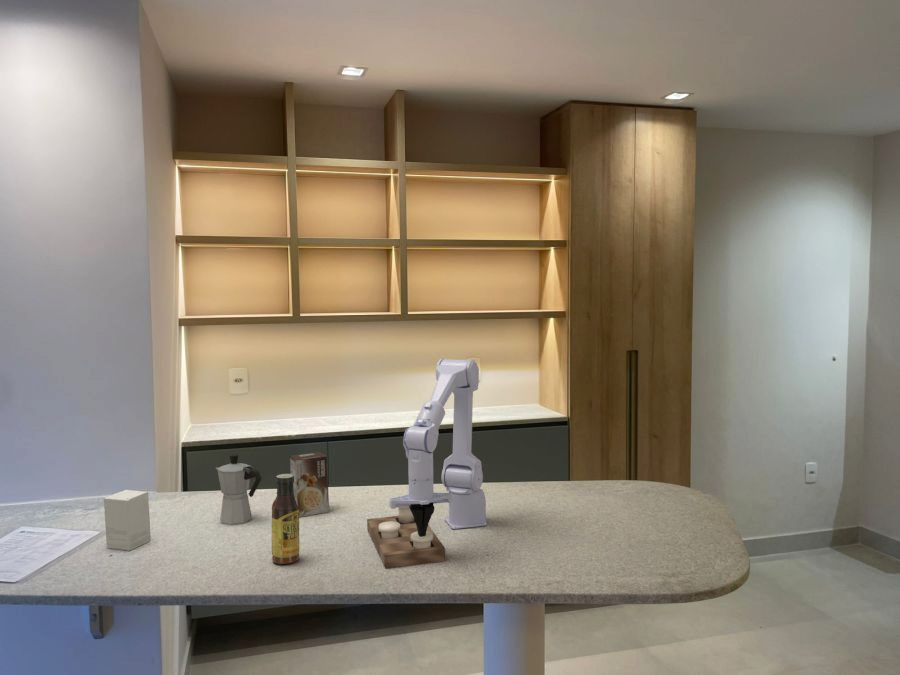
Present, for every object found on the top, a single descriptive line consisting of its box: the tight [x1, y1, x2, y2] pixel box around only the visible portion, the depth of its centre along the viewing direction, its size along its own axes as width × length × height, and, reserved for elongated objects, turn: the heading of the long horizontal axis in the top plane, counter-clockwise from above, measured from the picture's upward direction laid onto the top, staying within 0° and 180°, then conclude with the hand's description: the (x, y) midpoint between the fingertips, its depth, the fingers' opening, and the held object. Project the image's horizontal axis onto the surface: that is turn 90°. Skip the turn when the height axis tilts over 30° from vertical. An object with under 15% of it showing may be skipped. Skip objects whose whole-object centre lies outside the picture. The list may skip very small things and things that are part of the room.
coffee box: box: [289, 451, 330, 518], centre depth 192 cm, size 9×6×16 cm
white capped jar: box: [397, 506, 414, 523], centre depth 176 cm, size 5×5×5 cm
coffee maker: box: [215, 453, 263, 526], centre depth 186 cm, size 15×9×18 cm, turn 68°
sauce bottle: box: [271, 473, 300, 565], centre depth 158 cm, size 7×6×20 cm
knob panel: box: [366, 515, 446, 569], centre depth 168 cm, size 14×25×3 cm, turn 16°
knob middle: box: [379, 521, 400, 539], centre depth 167 cm, size 5×5×5 cm
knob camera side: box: [411, 531, 433, 549], centre depth 160 cm, size 5×5×5 cm
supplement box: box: [103, 489, 152, 552], centre depth 170 cm, size 7×7×13 cm
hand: (421, 535), depth 160 cm, fingers closed, pressing on knob camera side
